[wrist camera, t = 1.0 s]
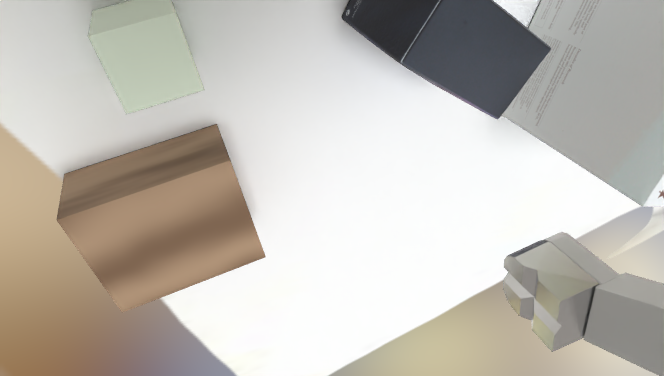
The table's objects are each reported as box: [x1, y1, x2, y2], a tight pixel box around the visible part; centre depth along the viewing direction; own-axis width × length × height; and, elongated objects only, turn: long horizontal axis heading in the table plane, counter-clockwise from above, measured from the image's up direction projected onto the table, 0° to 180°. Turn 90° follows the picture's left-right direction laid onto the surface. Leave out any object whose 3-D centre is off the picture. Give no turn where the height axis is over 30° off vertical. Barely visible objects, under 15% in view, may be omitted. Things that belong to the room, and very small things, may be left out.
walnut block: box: [57, 124, 265, 312], centre depth 38 cm, size 10×12×6 cm
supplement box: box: [502, 0, 664, 207], centre depth 40 cm, size 17×13×18 cm
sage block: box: [88, 0, 204, 114], centre depth 31 cm, size 5×5×6 cm
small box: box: [342, 0, 551, 119], centre depth 35 cm, size 11×6×10 cm, turn 58°
